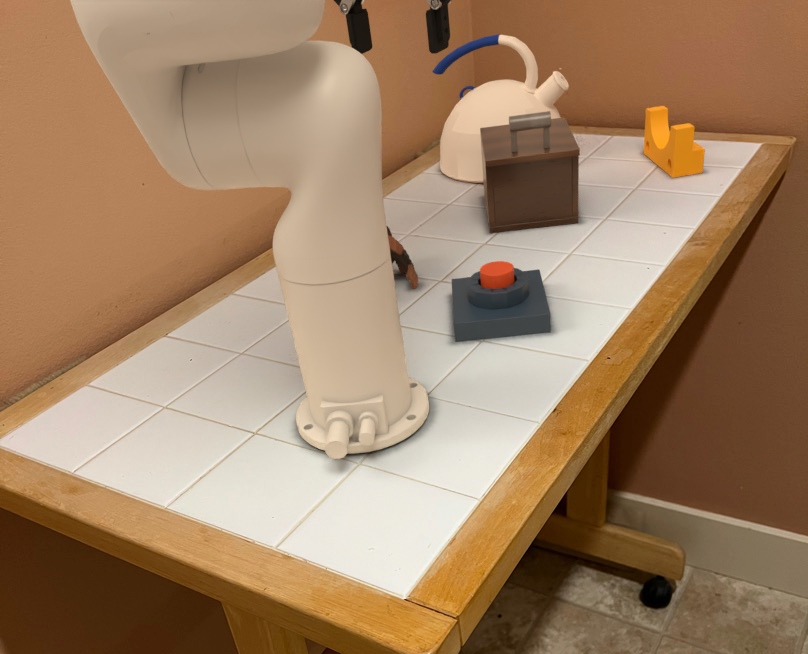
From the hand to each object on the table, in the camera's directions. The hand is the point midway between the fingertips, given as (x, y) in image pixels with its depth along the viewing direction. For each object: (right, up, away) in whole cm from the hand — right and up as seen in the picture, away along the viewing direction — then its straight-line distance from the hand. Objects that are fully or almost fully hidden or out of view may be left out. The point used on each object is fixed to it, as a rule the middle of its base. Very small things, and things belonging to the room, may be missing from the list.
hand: (400, 51), depth 88 cm
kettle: (+16, +5, +42) cm, 45 cm away
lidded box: (+18, -9, +24) cm, 31 cm away
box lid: (+17, -2, +18) cm, 25 cm away
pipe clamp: (+40, +1, +31) cm, 51 cm away
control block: (+11, -28, +2) cm, 30 cm away
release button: (+11, -25, -1) cm, 27 cm away
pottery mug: (-3, -22, +12) cm, 25 cm away
